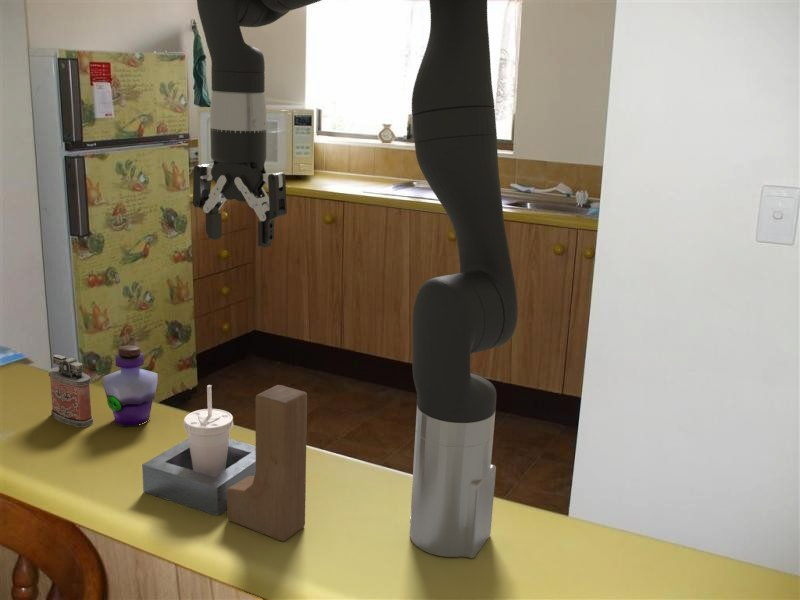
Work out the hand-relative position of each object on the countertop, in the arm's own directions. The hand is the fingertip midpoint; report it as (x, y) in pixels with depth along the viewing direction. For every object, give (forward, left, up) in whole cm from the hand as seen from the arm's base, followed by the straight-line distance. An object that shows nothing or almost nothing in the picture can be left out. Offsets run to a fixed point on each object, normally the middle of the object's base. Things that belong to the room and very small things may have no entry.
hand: (239, 242), depth 120 cm
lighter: (+26, +8, -30) cm, 41 cm away
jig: (-5, +14, -30) cm, 34 cm away
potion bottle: (+18, +4, -30) cm, 35 cm away
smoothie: (-5, +14, -30) cm, 34 cm away
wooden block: (-17, +19, -30) cm, 39 cm away
